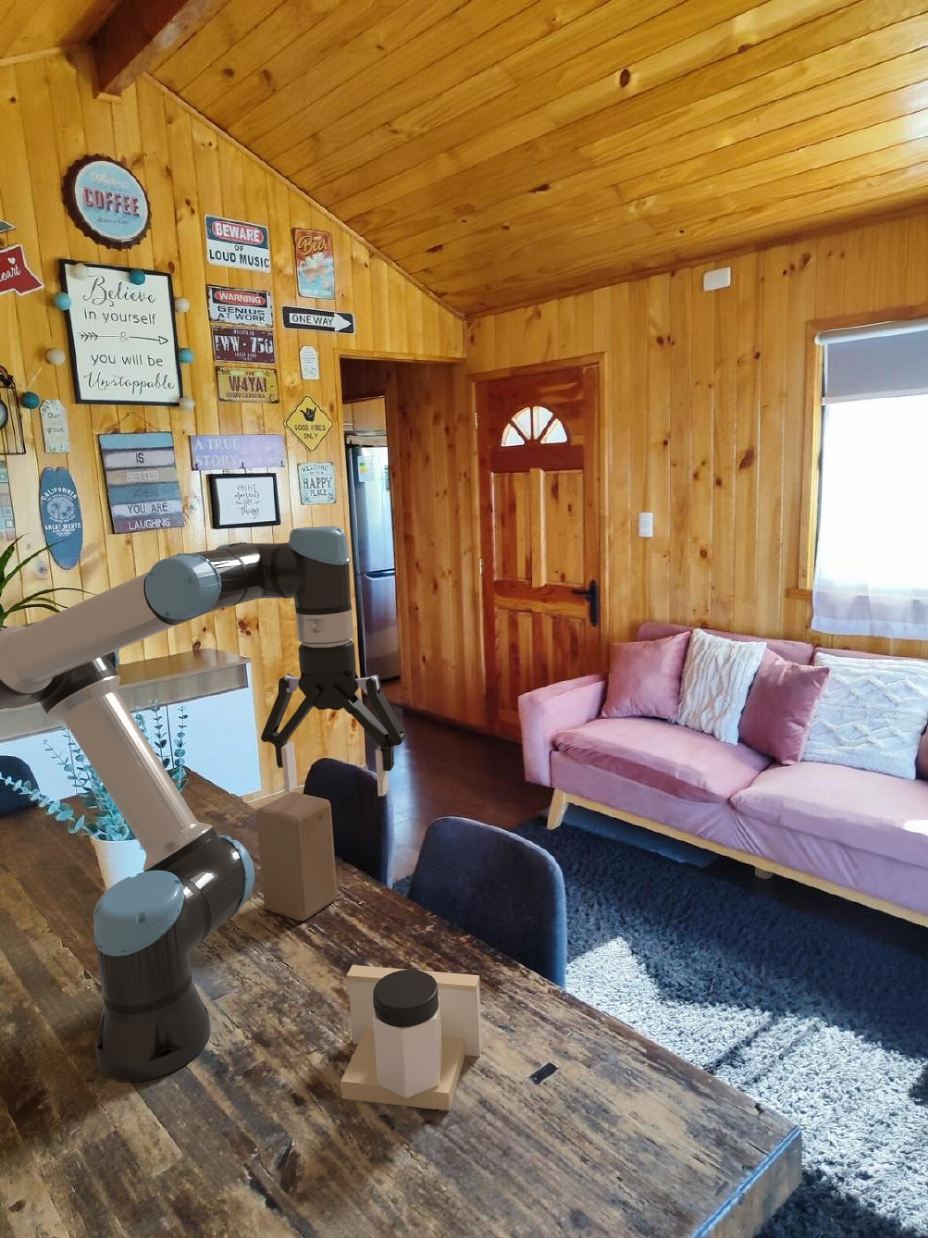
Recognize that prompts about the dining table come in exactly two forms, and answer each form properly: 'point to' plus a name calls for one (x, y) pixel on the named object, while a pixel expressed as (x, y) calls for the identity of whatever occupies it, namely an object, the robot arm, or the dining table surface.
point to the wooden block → (297, 855)
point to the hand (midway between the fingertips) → (336, 791)
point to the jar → (407, 1032)
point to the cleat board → (456, 1035)
